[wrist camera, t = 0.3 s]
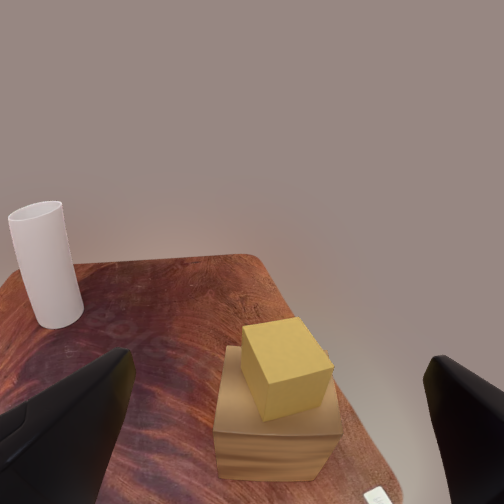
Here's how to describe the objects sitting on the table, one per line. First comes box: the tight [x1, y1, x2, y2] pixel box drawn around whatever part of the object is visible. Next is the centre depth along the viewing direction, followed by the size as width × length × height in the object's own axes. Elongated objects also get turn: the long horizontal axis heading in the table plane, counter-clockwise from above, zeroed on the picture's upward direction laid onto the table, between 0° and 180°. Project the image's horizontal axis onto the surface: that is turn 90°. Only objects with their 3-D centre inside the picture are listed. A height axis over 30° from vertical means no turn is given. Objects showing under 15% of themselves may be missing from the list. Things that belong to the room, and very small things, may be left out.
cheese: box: [241, 317, 334, 422], centre depth 18 cm, size 5×4×4 cm
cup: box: [8, 201, 84, 329], centre depth 33 cm, size 8×8×16 cm
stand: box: [213, 346, 343, 482], centre depth 20 cm, size 8×8×9 cm
